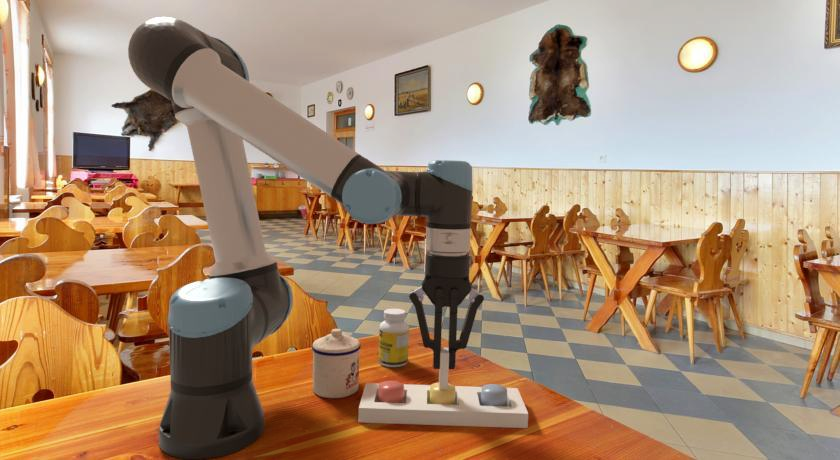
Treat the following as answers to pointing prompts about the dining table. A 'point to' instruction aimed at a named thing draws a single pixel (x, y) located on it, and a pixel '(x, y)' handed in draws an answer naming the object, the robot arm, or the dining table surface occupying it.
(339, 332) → the teacup with lid
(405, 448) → the dining table surface
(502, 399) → the blue button
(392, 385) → the red button
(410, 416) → the panel
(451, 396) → the mustard button
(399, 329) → the pill bottle
